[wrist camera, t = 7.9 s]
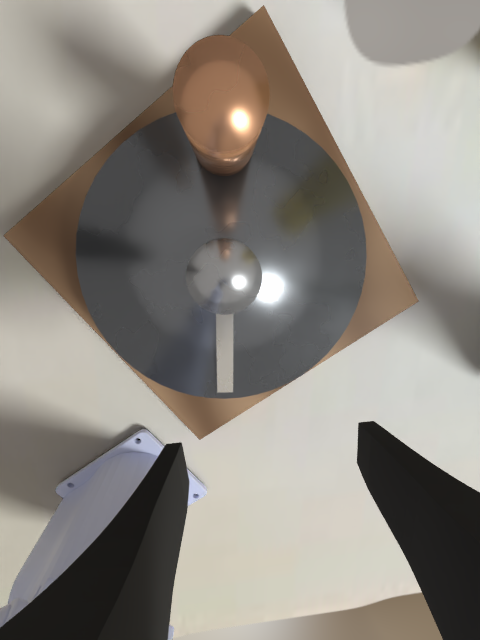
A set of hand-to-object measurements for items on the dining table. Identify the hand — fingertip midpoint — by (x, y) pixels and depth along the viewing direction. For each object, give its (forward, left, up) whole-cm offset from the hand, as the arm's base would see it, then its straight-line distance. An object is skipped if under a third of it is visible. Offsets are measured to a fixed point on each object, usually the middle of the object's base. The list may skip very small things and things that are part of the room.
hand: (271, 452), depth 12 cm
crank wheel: (+2, +6, -8) cm, 10 cm away
